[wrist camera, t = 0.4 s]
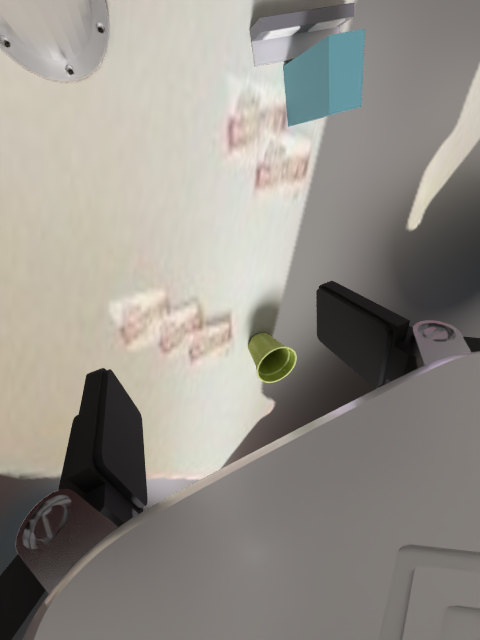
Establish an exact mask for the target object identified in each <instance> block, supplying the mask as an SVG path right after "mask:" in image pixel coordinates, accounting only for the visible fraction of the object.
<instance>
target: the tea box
mask: <svg viewBox="0 0 480 640" xmlns="http://www.w3.org/2000/svg"><path fill="white" fill-rule="evenodd" d="M364 40H365V29H361V30H356V31H350V32H345V33H339V34H334V35H329V36H327V37H326V38H324V39H323V40H321V41H320V42H318V43H317V44H315V45H314V46H312V47H311V48H310V49H308V50H307V51H305V52H304V53H302V54H301V55H299V56H298V57H296V58H295V59H293V60H292V61H290V62H289V63H287V64H286V65H284V66H283V70H284V82H285V94H286V106H287V118H288V127H289V126H293V125H296V124H300V123H304V122H308V121H312V120H316V119H319V118H323V117H326V116H329V115H333V114H336V113H340V112H344V111H347V110H351V109H354V108H358V107H361V102H362V81H363V61H364Z"/></svg>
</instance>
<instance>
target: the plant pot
mask: <svg viewBox="0 0 480 640" xmlns="http://www.w3.org/2000/svg"><path fill="white" fill-rule="evenodd" d="M248 349H249V351H250V353H251V356H252V358H253V360H254V362H255V365H256V369H257V376H258V378H259V379H260V380H261V381H263V382H266V383H272V382H276V381H279V380H281V379H282V378H284V377H285V376H287V375H288V374H289V373H290V372H291V370H292V369H293V367H294V366H295V364H296V359H297V356H296V353H295V351H294V350H293V349H292V348H290V347H287V346H284V345H282V344H281V343H280V342H278V341H277V340H276V339H274V338H273V337H272V336H270V335H269V334H268V333H258V334H256V335H255V336H253V337H252V338H251V340H250V343H249V345H248Z"/></svg>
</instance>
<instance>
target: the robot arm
mask: <svg viewBox="0 0 480 640" xmlns="http://www.w3.org/2000/svg"><path fill="white" fill-rule="evenodd" d="M99 28H101V29H103V31H104V32H103V33H100V32H99V31H98V29H99ZM108 41H109V21H108V12H107V7H106V2H105V0H0V48H1V49H2V50H3V51H4V52H5V53H6V54H7V55H8V56H9V57H11V58H12V59H13V60H14V61H15V62H17V63H18V64H20V65H21V66H22V67H24V68H25V69H27V70H28V71H30V72H32V73H34V74H36V75H38V76H40V77H42V78H46V79H49V80H52V81H56V82H65V83H69V82H77V81H80V80H83V79H85V78H88V77H89V76H90V75H91V74H93V73H94V72H95V71H96V70H97V69H98V67H99V66H100V65H101V63H102V61H103V59H104V57H105V54H106V52H107V46H108ZM5 42H9V43H10V47H9V48H8V47H6V45H5ZM69 70H72V71H73V72H74V73H73V75H70V74H69ZM409 322H410V321H409V320H407V319H405V318H404V317H402V316H400V315H398V314H396V313H394V312H392V311H390V310H388V309H386V308H384V307H382V306H380V305H378V304H376V303H374V302H373V301H371V300H369V299H367V298H364V297H363V296H361V295H359V294H357V293H355V292H353V291H351V290H349V289H347V288H345V287H344V286H342V285H340V284H338V283H336V282H333V281H330V282H327V283H324V284H322V285H320V286H319V289H318V290H317V336H318V339H319V340H320V341H321V342H322V343H323V344H324V345H325V346H326V347H327V348H329V349H330V350H331V351H332V352H333V353H334V354H336V355H337V356H338V357H339V358H340V359H341V360H343V361H344V362H345V363H346V364H347V365H348V366H350V367H351V368H352V369H353V370H354V371H355V372H357V373H358V374H359V375H360V376H361V377H362V378H363V379H365V380H366V381H367V382H368V383H369V384H370V385H372V386H374V387H378V388H377V389H376V390H374V391H372V392H370V393H368V394H366V395H364V396H362V397H360V398H358V399H356V400H354V401H352V402H350V403H348V404H346V405H344V406H342V407H340V408H338V409H337V410H334V411H332V412H330V413H328V414H327V415H325V416H323V417H321V418H319V419H317V420H315V421H313V422H311V423H309V424H307V425H305V426H303V427H301V428H299V429H297V430H295V431H294V432H291V433H290V434H288V435H286V436H284V437H282V438H280V439H278V440H276V441H274V442H272V443H271V444H268V445H266V446H264V447H262V448H261V449H259V450H257V451H255V452H253V453H251V454H249V455H247V456H245V457H243V458H241V459H239V460H238V461H236V462H234V463H232V464H230V465H228V466H226V467H224V468H222V469H220V470H218V471H216V472H214V473H213V474H211V475H209V476H207V477H205V478H203V479H201V480H199V481H197V482H196V483H194V484H192V485H190V486H188V487H186V488H185V489H183V490H181V491H179V492H177V493H175V494H173V495H172V496H170V497H168V498H166V499H164V500H162V501H161V502H159V503H157V504H155V505H153V506H152V507H150V508H148V509H147V510H145V511H143V507H144V506H146V505H147V487H146V472H145V457H144V442H143V427H142V417H141V414H140V412H139V410H138V409H137V407H136V406H135V404H134V403H133V401H132V400H131V398H130V397H129V395H128V394H127V392H126V391H125V389H124V388H123V386H122V385H121V383H120V382H119V380H118V379H117V377H116V376H115V374H114V373H113V371H112V370H110V369H109V370H107V371H106V369H104V368H102V369H99V370H96V371H94V372H91V373H89V374H87V376H86V380H85V385H84V390H83V396H82V401H81V406H80V411H79V415H77V416H76V417H75V418H74V420H73V423H72V428H71V433H70V438H69V442H68V447H67V452H66V456H65V461H64V466H63V471H62V475H61V480H60V485H59V490H58V491H55V492H52V493H51V494H49V495H48V496H46V497H45V498H43V499H42V500H41V501H40V502H39V503H38V504H37V505H36V506H35V507H34V508H33V509H32V510H31V512H30V513H29V514H28V515H27V516H26V518H25V520H24V522H23V523H22V525H21V527H20V529H19V532H18V535H17V537H16V550H17V553H18V555H17V556H16V557H15V558H14V560H13V561H12V562H11V563H10V565H9V566H8V567H7V568H6V569H5V571H4V572H3V573H2V574H1V576H0V640H480V338H471V337H462V335H461V333H460V332H459V331H458V330H457V329H456V328H455V327H453V326H451V325H449V324H446V323H443V322H439V321H422V322H418V323H417V324H415V325H414V327H413V328H412V327H410V326H409Z"/></svg>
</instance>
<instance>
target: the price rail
mask: <svg viewBox="0 0 480 640" xmlns="http://www.w3.org/2000/svg"><path fill="white" fill-rule="evenodd" d="M353 16H354V3H349V4H343V5H337V6H331V7H324V8H318V9H312V10H306V11H299V12H293V13H287V14H280V15H274V16H268V17H262V18H259V19H258V20H257V21H256V23H255V24H254V25H253V26H252V27H251V28H250V36H251V43H252V51H253V59H254V66H255V67H258V66H263V65H268V64H273V63H278V62H282V61H287V60H292V59H295V58H296V57H298V56H299V55H301V54H302V53H304V52H305V51H307V50H308V49H310V48H311V47H312V46H314V45H315V44H317V43H318V42H320V41H321V40H323V39H324V38H326V37H327V36H329V35H334V34H339V33H340V25H342V24H343V23H345V22H346V21H348V20H349V19H351V18H352V17H353Z"/></svg>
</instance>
